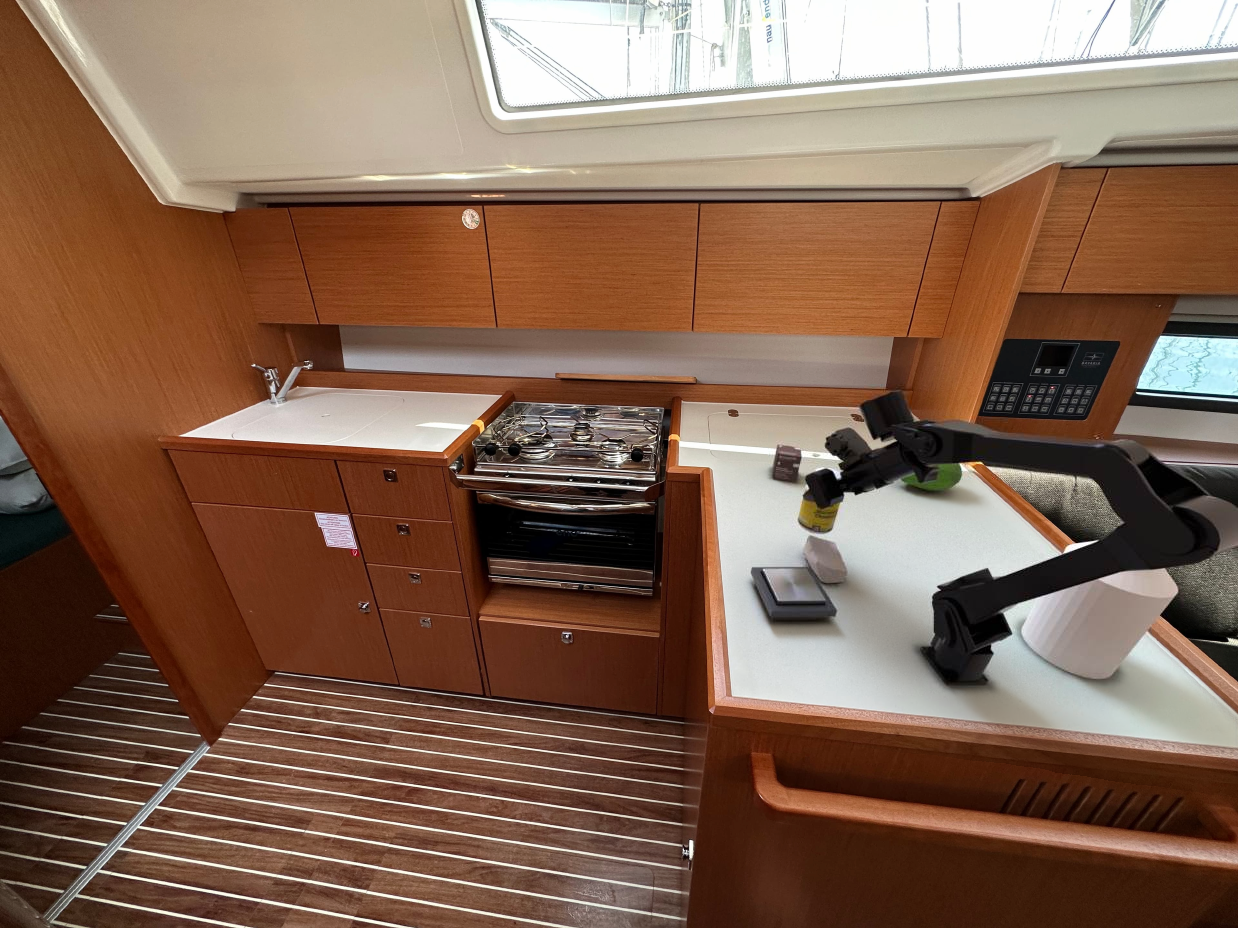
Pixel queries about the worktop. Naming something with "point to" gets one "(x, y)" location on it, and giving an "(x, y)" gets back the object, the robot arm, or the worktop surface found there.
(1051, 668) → the worktop surface
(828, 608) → the scale
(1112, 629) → the bottle
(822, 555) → the pale grey rock
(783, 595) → the pan
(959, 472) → the fruit
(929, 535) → the worktop surface
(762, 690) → the worktop surface
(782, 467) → the box
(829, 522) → the pill bottle
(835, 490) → the robot arm
